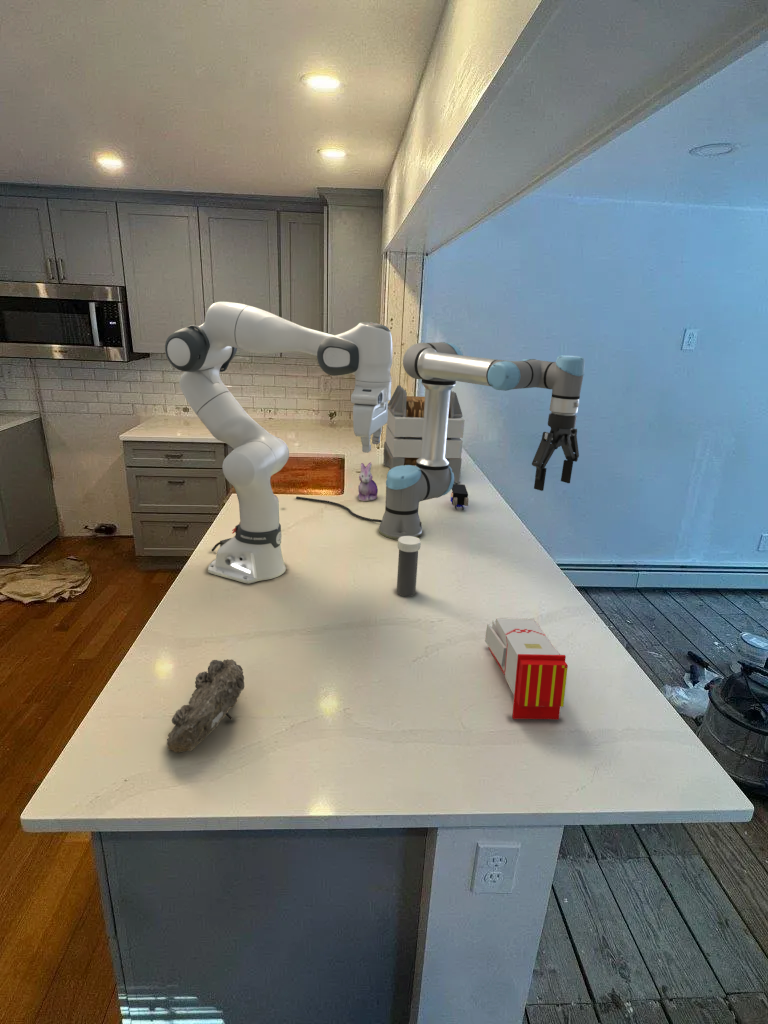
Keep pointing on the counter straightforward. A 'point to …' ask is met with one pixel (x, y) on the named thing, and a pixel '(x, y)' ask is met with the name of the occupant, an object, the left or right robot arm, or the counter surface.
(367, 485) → the figurine
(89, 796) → the counter surface
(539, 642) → the toy
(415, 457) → the grey slatted crate
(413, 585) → the dark grey tall cylinder
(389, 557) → the counter surface
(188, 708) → the fossil
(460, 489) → the figurine character
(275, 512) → the left robot arm
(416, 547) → the lid
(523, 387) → the right robot arm
